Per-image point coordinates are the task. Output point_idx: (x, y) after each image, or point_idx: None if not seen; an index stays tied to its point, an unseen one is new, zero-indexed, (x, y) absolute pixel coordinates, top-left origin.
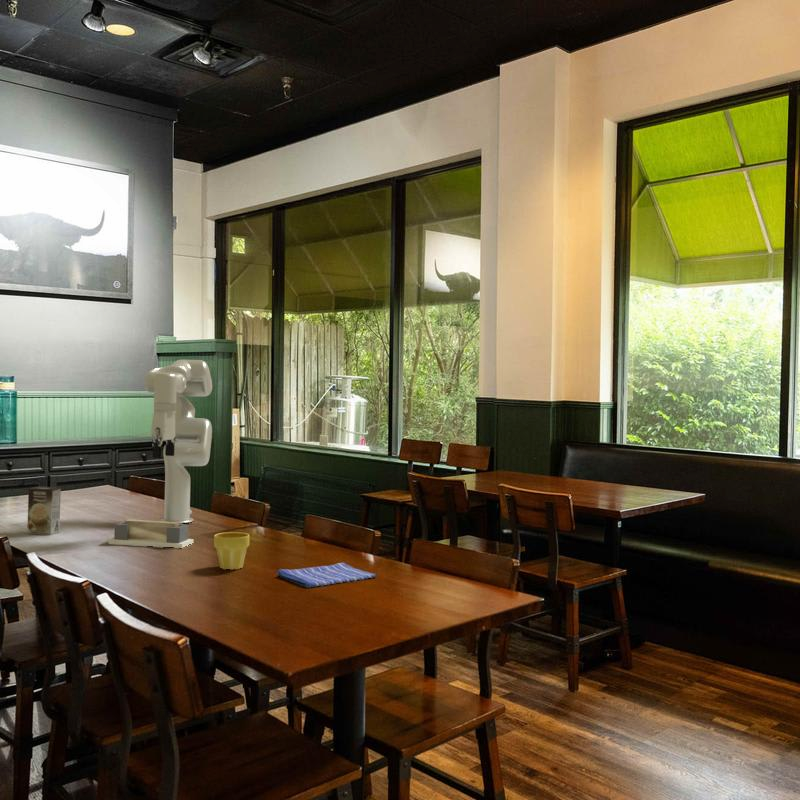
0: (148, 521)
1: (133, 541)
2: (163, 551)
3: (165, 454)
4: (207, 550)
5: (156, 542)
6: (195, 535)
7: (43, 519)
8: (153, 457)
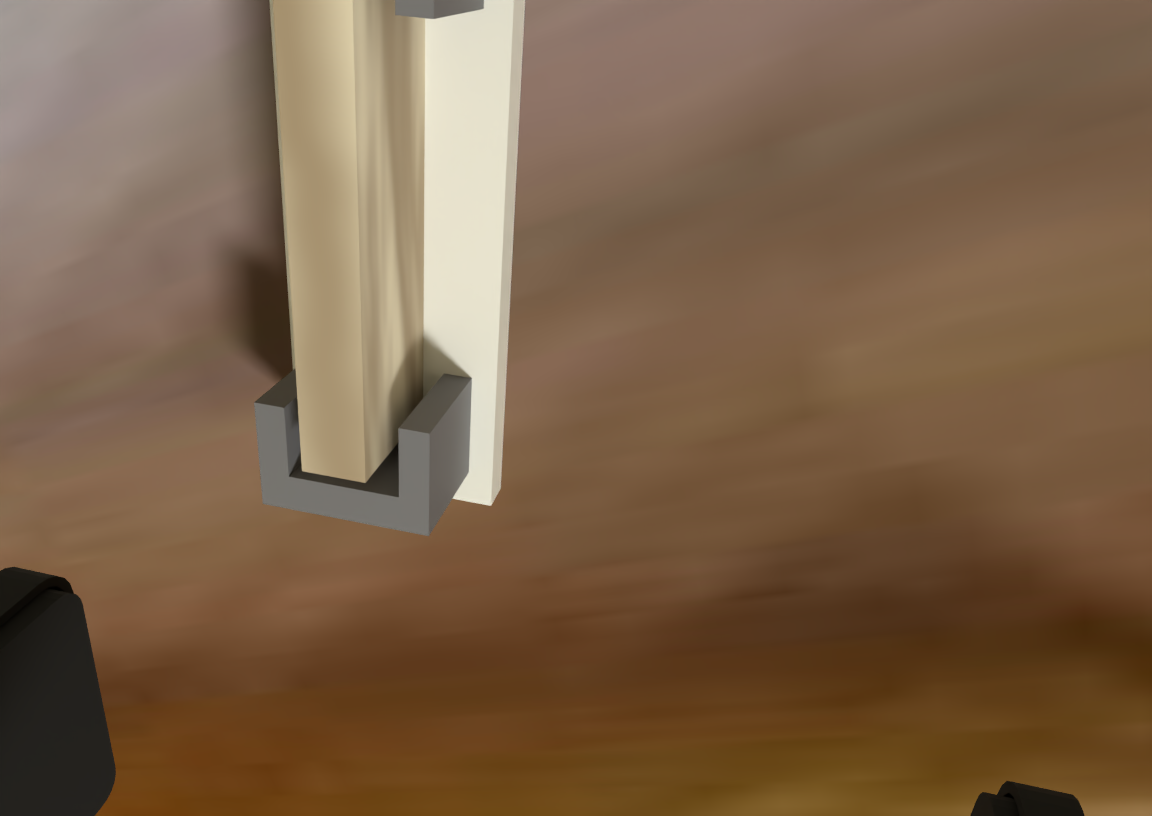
0: (313, 207)
1: (276, 71)
2: (195, 359)
3: (990, 809)
4: (321, 602)
5: (289, 279)
6: (849, 437)
7: None
8: (19, 582)
